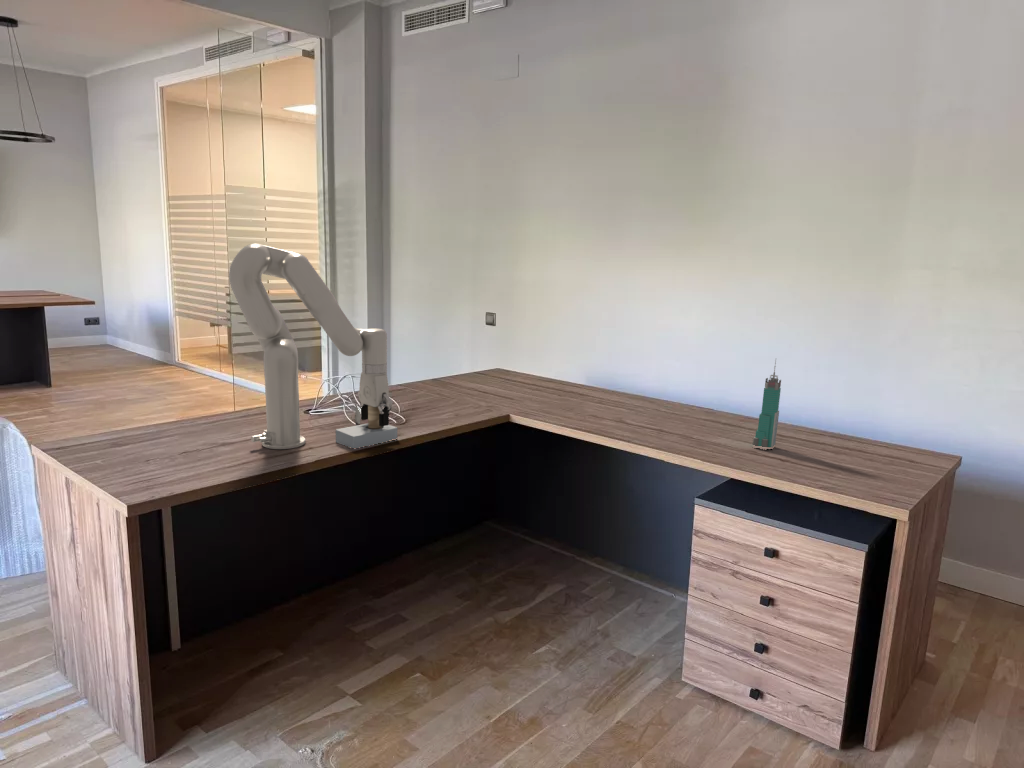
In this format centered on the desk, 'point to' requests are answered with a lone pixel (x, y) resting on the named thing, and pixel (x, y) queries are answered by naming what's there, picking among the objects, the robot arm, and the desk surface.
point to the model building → (357, 416)
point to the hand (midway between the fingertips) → (374, 422)
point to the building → (769, 413)
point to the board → (364, 435)
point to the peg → (373, 417)
